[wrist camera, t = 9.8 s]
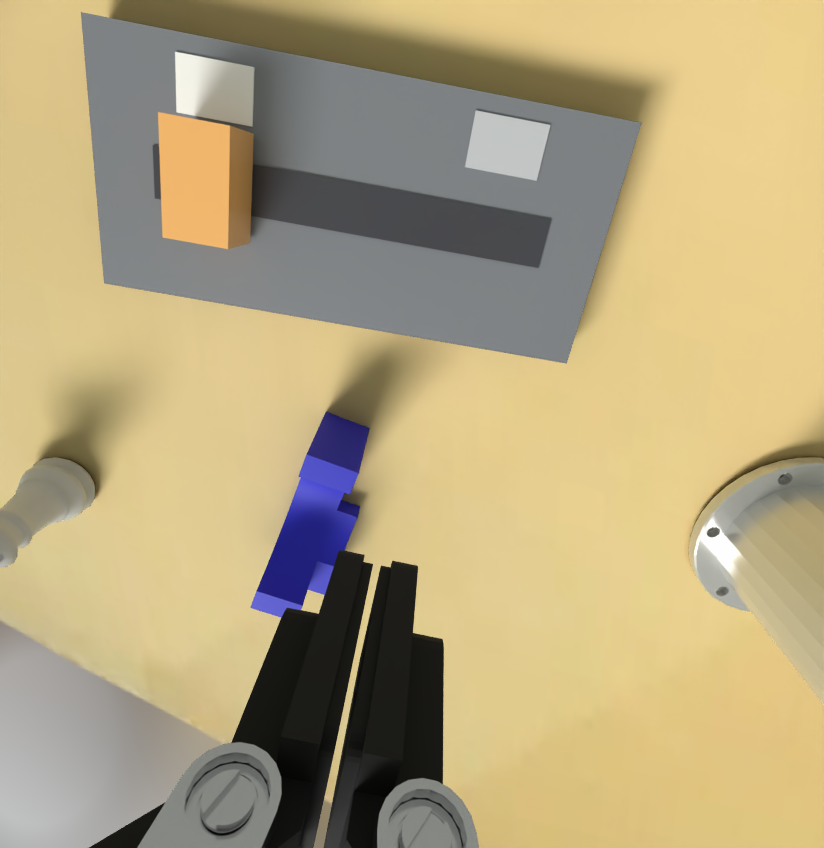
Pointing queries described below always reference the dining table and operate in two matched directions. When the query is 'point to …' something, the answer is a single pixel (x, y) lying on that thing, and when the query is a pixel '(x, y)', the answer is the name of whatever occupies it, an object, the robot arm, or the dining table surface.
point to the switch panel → (359, 191)
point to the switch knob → (205, 181)
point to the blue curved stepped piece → (315, 518)
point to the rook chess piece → (43, 503)
